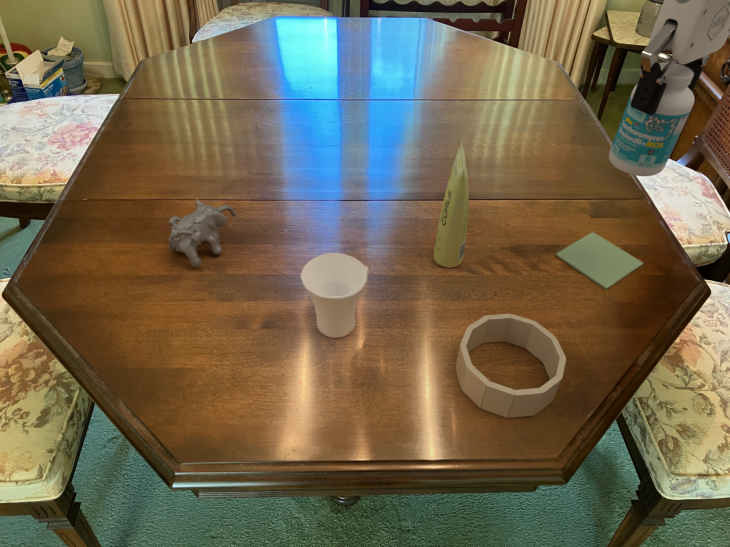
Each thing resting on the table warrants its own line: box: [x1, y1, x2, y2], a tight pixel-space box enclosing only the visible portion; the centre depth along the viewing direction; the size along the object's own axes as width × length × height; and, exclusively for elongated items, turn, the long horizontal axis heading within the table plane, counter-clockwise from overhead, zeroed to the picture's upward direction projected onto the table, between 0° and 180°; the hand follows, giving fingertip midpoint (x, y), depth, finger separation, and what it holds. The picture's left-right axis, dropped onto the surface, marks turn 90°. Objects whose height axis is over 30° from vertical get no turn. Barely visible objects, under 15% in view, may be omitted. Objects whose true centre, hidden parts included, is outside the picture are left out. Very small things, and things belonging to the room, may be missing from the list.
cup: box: [299, 252, 370, 339], centre depth 77 cm, size 9×9×10 cm
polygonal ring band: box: [454, 313, 567, 419], centre depth 72 cm, size 13×13×5 cm
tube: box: [433, 141, 470, 269], centre depth 84 cm, size 6×5×20 cm
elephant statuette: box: [168, 198, 237, 269], centre depth 90 cm, size 9×12×8 cm
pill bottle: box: [608, 61, 695, 177], centre depth 72 cm, size 8×7×14 cm
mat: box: [554, 231, 644, 290], centre depth 91 cm, size 10×10×1 cm
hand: (660, 101), depth 71 cm, fingers closed on pill bottle, 7 cm apart
